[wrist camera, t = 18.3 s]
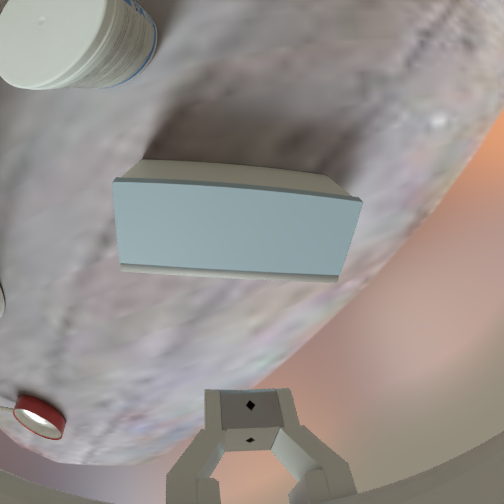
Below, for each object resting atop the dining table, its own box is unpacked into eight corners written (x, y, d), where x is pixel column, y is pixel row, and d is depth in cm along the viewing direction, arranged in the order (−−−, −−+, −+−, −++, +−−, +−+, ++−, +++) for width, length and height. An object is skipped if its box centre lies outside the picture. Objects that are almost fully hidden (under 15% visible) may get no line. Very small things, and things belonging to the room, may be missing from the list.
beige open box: (141, 220, 33) (122, 254, 26) (141, 159, 30) (119, 179, 23) (314, 232, 36) (336, 267, 29) (326, 174, 33) (354, 198, 26)
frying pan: (-14, 405, 52) (-21, 422, 46) (-37, 375, 46) (-46, 392, 40) (74, 429, 55) (69, 450, 50) (52, 399, 49) (44, 422, 44)
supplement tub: (173, 14, 23) (139, -42, 10) (140, 96, 27) (81, 100, 14) (92, 2, 20) (20, -38, 8) (63, 81, 24) (-25, 86, 12)
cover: (123, 267, 27) (121, 273, 26) (116, 177, 22) (112, 181, 21) (333, 278, 30) (336, 284, 29) (358, 197, 25) (363, 202, 24)
